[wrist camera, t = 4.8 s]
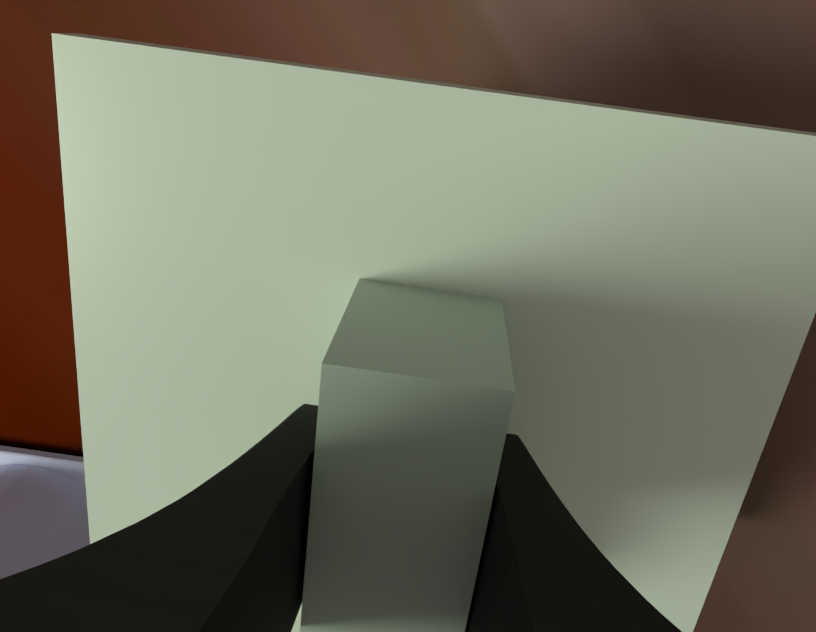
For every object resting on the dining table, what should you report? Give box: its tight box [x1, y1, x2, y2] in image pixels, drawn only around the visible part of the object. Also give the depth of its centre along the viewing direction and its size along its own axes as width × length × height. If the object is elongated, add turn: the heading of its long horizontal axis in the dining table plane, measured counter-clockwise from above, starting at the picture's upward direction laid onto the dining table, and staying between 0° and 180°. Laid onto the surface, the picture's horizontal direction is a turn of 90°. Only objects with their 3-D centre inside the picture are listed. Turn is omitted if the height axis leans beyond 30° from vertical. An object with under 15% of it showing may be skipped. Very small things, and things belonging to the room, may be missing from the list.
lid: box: [52, 33, 816, 632], centre depth 12 cm, size 12×12×5 cm
